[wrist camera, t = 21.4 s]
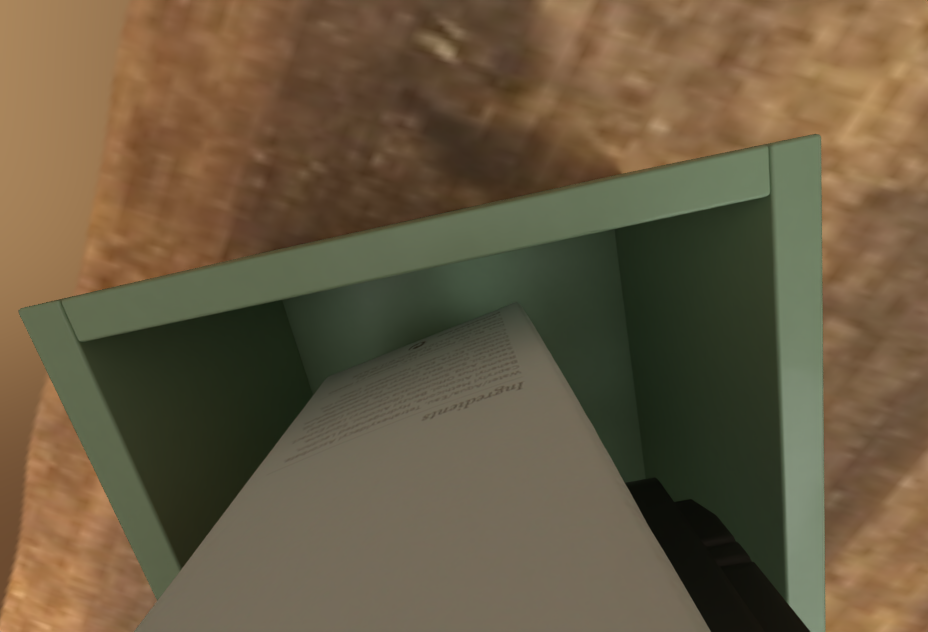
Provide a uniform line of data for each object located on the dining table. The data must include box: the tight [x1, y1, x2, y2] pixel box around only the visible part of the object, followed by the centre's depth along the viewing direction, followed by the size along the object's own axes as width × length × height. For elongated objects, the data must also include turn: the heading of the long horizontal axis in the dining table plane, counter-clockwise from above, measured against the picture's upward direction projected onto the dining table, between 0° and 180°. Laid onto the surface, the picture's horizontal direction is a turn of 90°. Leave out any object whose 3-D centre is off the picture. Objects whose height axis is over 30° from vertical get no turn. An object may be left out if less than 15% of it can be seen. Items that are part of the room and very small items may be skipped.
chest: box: [19, 134, 825, 632], centre depth 13 cm, size 16×14×9 cm
